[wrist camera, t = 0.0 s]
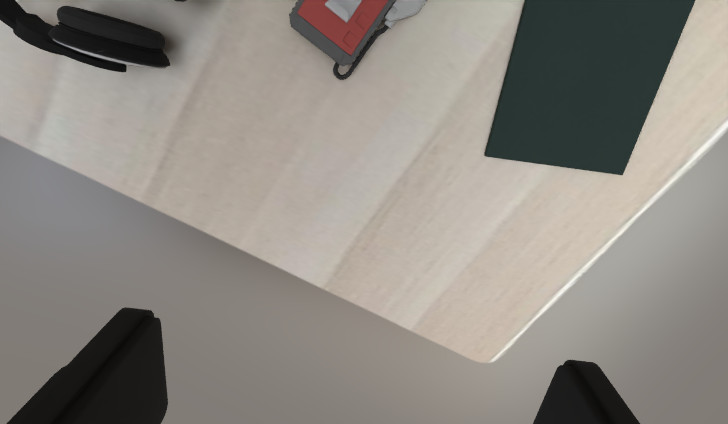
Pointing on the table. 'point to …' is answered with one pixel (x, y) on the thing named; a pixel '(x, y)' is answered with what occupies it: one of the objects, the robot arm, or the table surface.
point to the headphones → (89, 37)
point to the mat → (584, 80)
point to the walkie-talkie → (348, 25)
